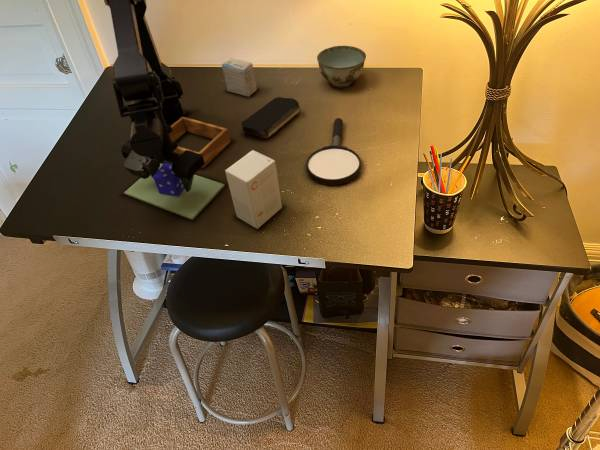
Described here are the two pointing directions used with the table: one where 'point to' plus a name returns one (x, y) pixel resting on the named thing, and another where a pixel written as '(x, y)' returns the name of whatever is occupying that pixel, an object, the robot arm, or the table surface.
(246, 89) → the medicine box
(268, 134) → the black sponge
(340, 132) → the magnifying glass
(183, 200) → the mat
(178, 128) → the pine box
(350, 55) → the bowl
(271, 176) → the small box
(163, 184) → the die
